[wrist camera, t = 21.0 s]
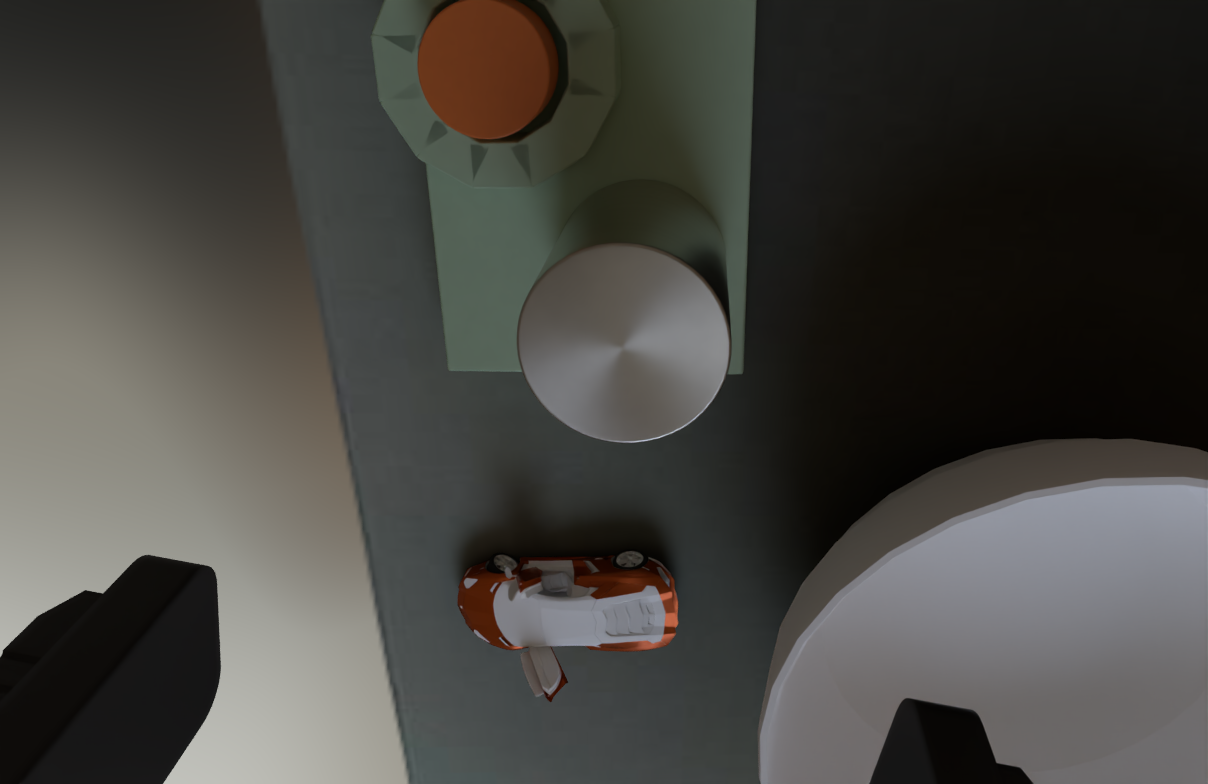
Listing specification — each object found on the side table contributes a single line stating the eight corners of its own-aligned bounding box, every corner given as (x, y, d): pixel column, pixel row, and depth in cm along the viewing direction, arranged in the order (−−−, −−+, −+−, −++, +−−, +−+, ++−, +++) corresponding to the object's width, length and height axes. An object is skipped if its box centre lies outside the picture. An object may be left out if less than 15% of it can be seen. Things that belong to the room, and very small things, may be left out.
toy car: (451, 532, 33) (427, 585, 30) (675, 529, 32) (672, 584, 29) (471, 648, 35) (450, 708, 33) (682, 649, 34) (679, 711, 32)
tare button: (427, -3, 23) (409, -1, 22) (555, -7, 23) (545, -5, 21) (440, 130, 24) (424, 140, 23) (562, 128, 24) (553, 138, 22)
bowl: (771, 342, 29) (790, 451, 23) (1394, 374, 28) (1609, 501, 21) (729, 773, 37) (734, 948, 30) (1215, 817, 35) (1331, 1011, 29)
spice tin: (569, 165, 26) (527, 225, 20) (741, 194, 25) (752, 263, 20) (548, 326, 28) (505, 424, 22) (708, 354, 27) (708, 461, 22)
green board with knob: (400, -63, 25) (357, -67, 22) (755, -76, 24) (763, -82, 21) (445, 348, 30) (414, 393, 27) (741, 351, 29) (745, 398, 26)
